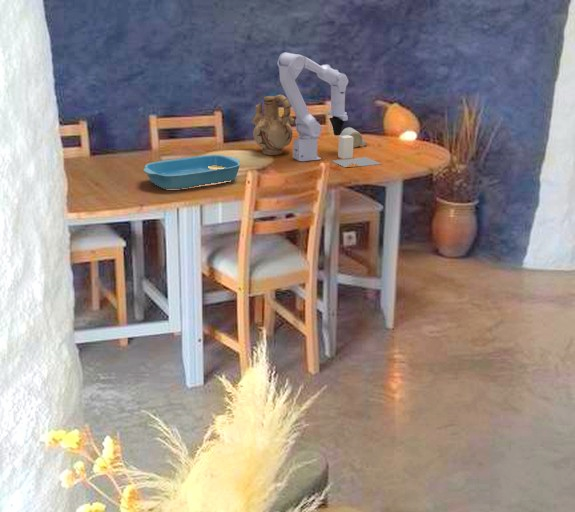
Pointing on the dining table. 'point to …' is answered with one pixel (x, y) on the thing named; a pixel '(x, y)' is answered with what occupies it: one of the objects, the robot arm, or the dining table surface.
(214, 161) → the casserole dish
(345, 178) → the dining table surface
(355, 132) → the ceramic mug
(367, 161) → the slate mat
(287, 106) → the ceramic vessel
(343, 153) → the off-white block
